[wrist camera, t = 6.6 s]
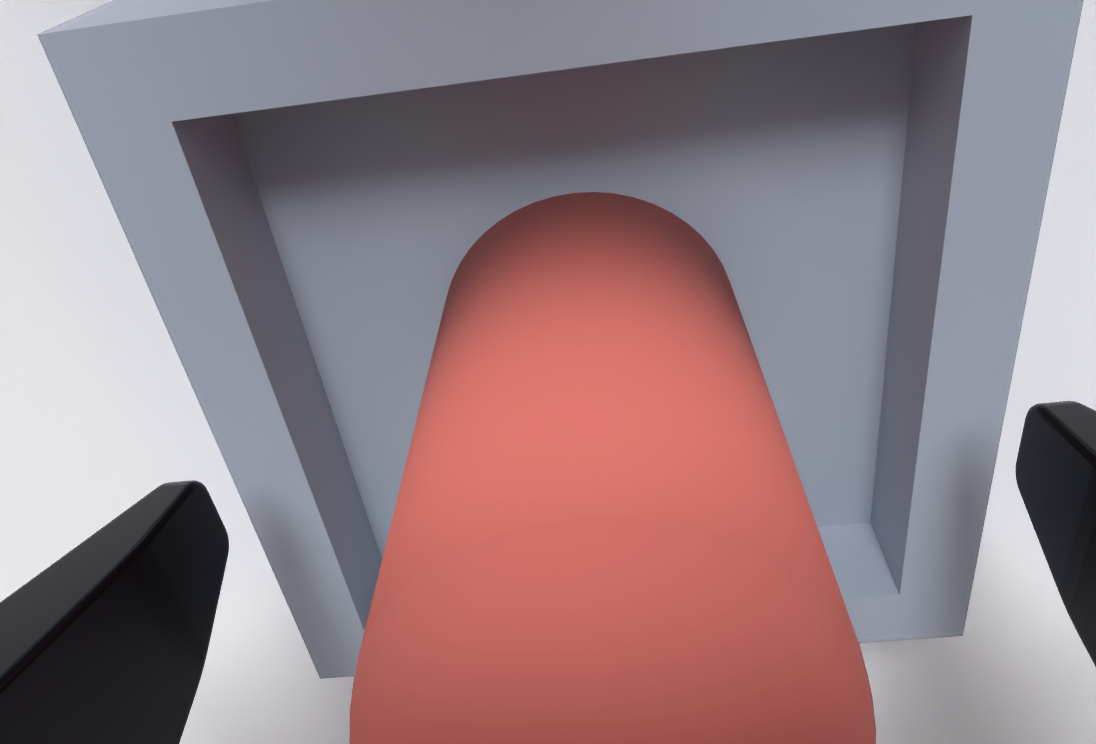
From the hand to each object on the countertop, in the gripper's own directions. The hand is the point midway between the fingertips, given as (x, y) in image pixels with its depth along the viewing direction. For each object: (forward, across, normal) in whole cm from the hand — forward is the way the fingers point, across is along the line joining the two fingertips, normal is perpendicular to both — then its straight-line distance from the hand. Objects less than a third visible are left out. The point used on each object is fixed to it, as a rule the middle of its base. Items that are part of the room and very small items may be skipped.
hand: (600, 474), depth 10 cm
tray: (+4, 0, 0) cm, 4 cm away
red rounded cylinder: (+3, 0, 0) cm, 3 cm away
